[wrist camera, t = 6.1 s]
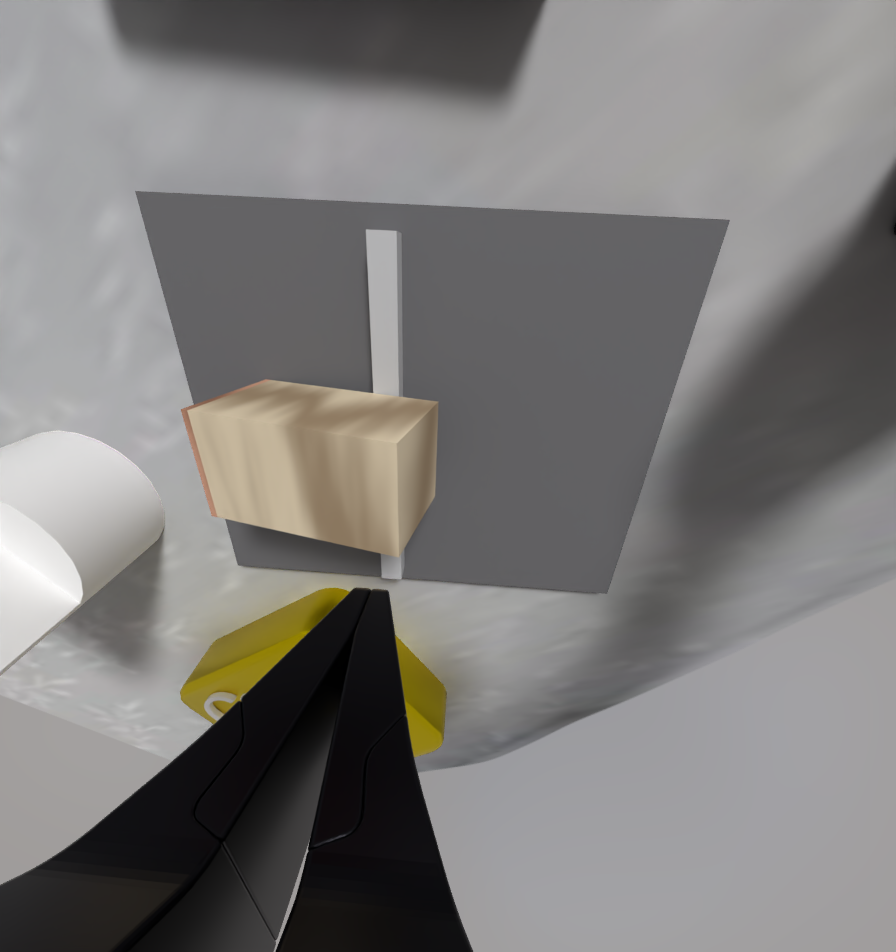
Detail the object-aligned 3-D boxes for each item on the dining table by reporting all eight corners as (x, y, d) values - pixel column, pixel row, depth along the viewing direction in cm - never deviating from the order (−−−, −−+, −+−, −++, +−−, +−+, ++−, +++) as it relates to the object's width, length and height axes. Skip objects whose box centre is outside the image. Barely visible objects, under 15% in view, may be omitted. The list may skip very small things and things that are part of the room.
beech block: (396, 443, 13) (180, 409, 15) (398, 557, 16) (212, 515, 17) (438, 401, 17) (265, 379, 19) (435, 496, 20) (281, 467, 22)
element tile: (323, 737, 37) (303, 797, 33) (202, 643, 31) (160, 701, 27) (456, 693, 33) (454, 756, 28) (343, 574, 27) (319, 631, 23)
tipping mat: (718, 222, 16) (748, 216, 14) (603, 584, 25) (612, 608, 24) (149, 194, 17) (111, 186, 15) (244, 557, 26) (227, 578, 24)
